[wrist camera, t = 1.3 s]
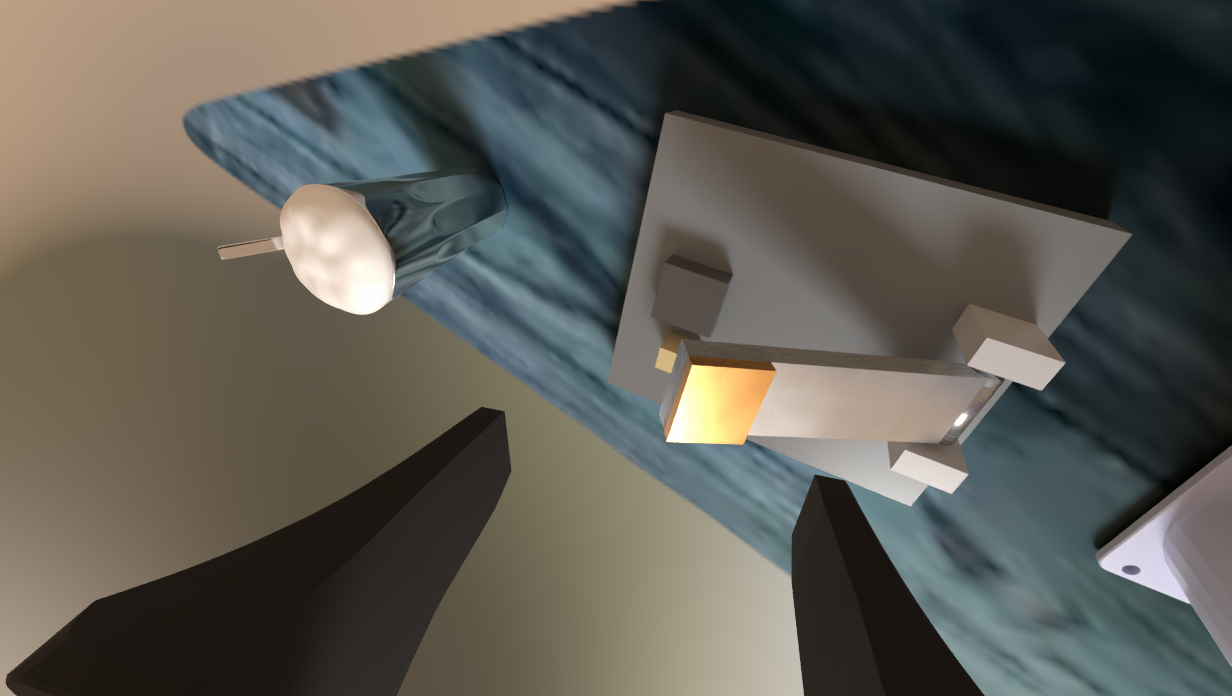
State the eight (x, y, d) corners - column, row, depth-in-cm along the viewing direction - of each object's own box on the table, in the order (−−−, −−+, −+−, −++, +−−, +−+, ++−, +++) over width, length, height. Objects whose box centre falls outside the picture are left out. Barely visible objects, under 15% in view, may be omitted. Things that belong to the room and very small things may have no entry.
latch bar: (988, 363, 16) (1020, 388, 15) (941, 425, 17) (967, 453, 16) (680, 336, 13) (692, 365, 12) (658, 411, 15) (666, 441, 14)
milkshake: (421, 142, 23) (191, 182, 15) (518, 158, 21) (320, 212, 13) (433, 235, 25) (241, 313, 17) (521, 256, 24) (355, 351, 16)
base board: (1108, 220, 15) (1182, 263, 11) (907, 481, 21) (917, 554, 18) (677, 110, 18) (640, 119, 15) (619, 366, 24) (584, 411, 21)
